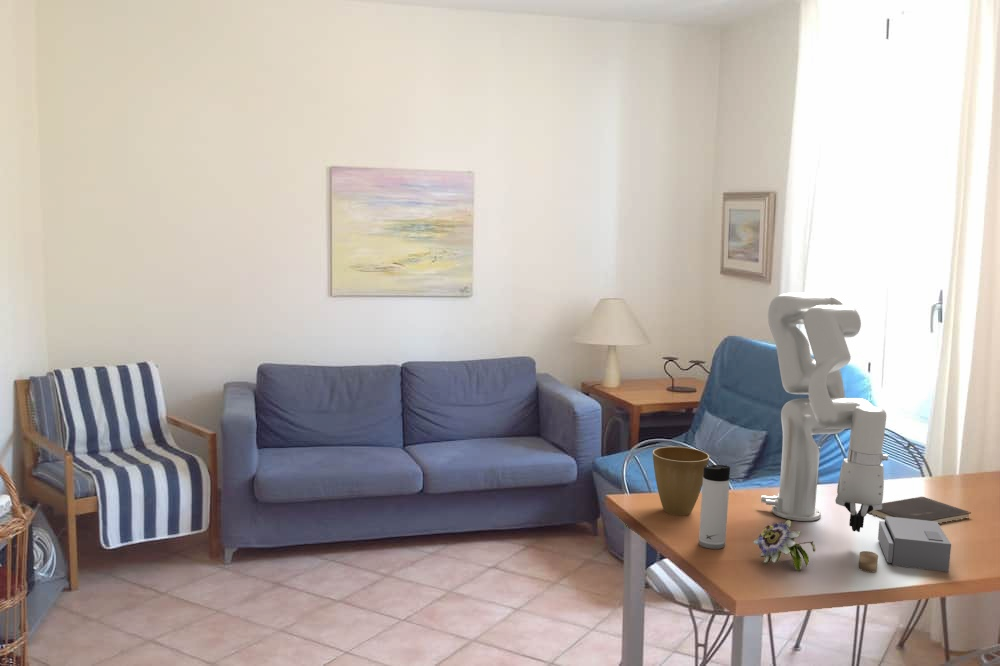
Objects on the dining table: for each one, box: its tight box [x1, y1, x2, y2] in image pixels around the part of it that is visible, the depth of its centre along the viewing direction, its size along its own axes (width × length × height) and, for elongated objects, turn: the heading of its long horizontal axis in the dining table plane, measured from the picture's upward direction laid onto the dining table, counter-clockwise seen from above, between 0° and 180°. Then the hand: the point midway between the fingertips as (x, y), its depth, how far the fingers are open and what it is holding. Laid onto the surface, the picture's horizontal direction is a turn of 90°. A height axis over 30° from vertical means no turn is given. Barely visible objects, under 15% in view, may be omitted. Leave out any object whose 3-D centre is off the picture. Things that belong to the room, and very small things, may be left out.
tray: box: [877, 520, 894, 564], centre depth 230 cm, size 12×17×5 cm
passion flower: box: [753, 519, 816, 572], centre depth 223 cm, size 11×11×12 cm
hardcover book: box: [868, 496, 972, 524], centre depth 263 cm, size 16×23×2 cm
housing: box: [884, 516, 952, 573], centre depth 230 cm, size 12×17×7 cm
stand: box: [857, 550, 879, 573], centre depth 221 cm, size 4×4×4 cm
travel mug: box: [698, 464, 731, 550], centre depth 232 cm, size 6×7×20 cm
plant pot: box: [652, 446, 710, 516], centre depth 258 cm, size 15×15×16 cm
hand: (855, 529), depth 234 cm, fingers closed
